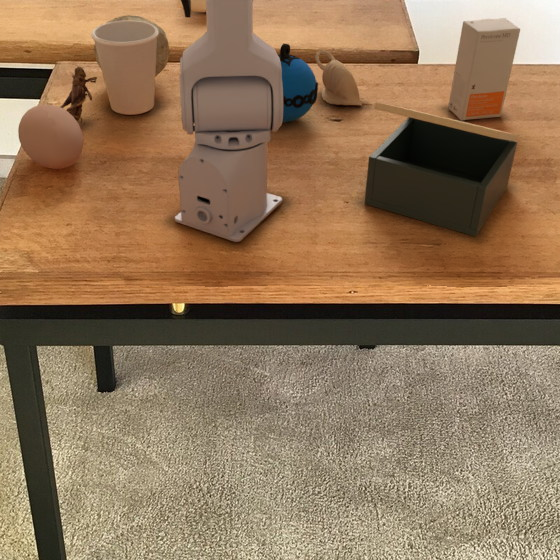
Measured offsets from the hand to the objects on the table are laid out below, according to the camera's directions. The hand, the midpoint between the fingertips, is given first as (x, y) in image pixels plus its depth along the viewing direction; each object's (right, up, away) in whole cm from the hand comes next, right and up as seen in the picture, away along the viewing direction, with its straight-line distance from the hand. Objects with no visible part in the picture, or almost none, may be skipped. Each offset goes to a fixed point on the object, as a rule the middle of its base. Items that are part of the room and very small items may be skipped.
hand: (217, 14), depth 102 cm
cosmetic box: (+34, -13, +2) cm, 37 cm away
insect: (-17, -12, -2) cm, 21 cm away
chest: (+26, -26, -15) cm, 39 cm away
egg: (-21, -16, -10) cm, 28 cm away
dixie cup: (-11, -12, +1) cm, 17 cm away
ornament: (+9, -14, -1) cm, 17 cm away
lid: (+26, -19, -21) cm, 38 cm away
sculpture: (-11, -6, +8) cm, 15 cm away
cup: (-2, +14, +32) cm, 35 cm away
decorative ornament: (+16, -10, +5) cm, 20 cm away
